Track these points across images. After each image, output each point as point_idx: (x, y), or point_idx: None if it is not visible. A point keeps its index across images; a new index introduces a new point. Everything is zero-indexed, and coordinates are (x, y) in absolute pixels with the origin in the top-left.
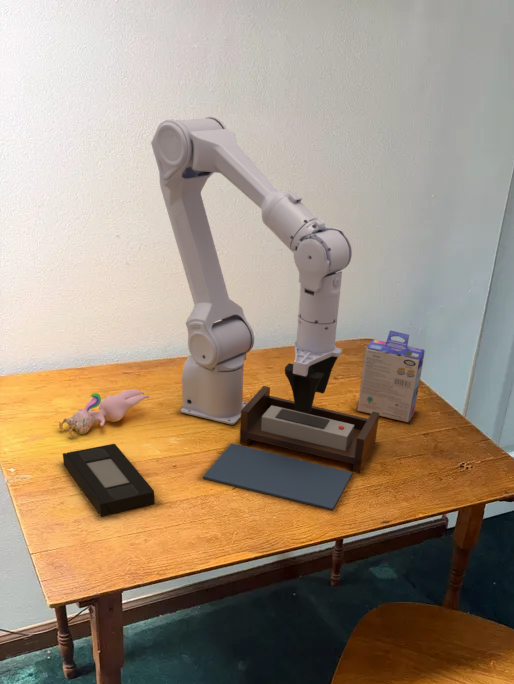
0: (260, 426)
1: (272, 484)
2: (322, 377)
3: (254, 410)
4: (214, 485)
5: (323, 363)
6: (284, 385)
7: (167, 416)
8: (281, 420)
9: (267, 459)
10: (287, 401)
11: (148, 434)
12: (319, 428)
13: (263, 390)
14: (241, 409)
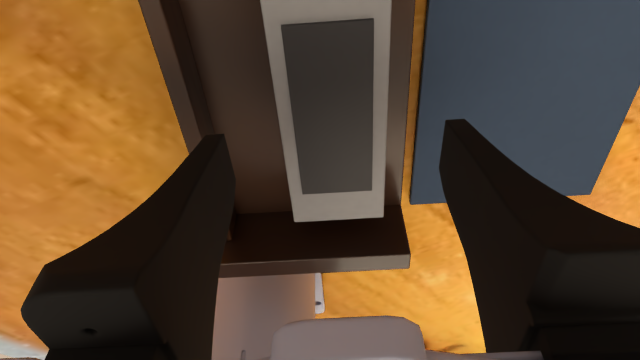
0: None
1: (610, 44)
2: (209, 200)
3: (352, 241)
4: (615, 161)
5: (191, 269)
6: (20, 219)
7: (348, 314)
8: (381, 168)
9: (462, 110)
10: None
11: (431, 309)
12: (375, 36)
13: (248, 269)
14: None
